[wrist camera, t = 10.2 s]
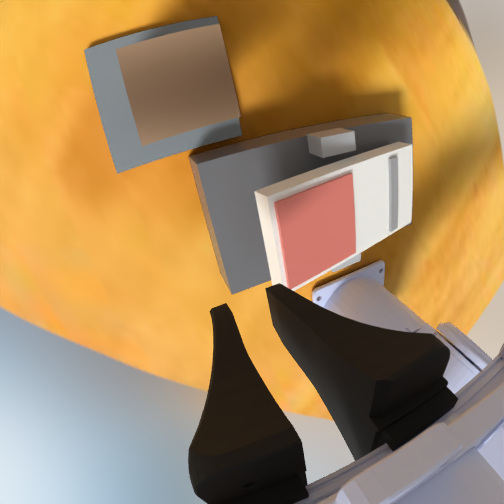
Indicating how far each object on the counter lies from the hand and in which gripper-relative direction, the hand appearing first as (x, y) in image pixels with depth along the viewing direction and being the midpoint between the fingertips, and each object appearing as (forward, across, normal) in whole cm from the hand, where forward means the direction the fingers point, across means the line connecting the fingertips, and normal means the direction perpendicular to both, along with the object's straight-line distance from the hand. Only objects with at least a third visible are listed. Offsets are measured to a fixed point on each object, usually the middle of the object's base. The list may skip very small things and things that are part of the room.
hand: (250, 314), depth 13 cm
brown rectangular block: (+10, 0, -9) cm, 13 cm away
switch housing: (+10, -8, 0) cm, 13 cm away
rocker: (+6, -8, 0) cm, 10 cm away
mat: (+10, 0, -9) cm, 14 cm away
